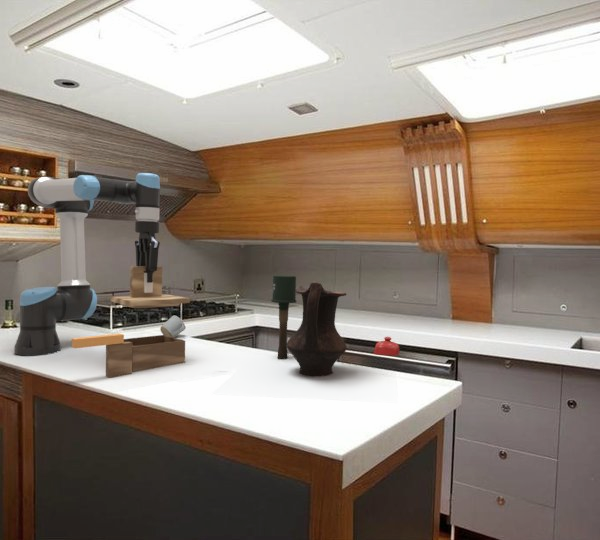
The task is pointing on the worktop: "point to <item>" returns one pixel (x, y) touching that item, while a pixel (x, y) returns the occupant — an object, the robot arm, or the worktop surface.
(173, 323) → the ceramic mug
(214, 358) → the worktop surface
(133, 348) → the open wooden box
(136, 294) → the lid
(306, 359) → the jug
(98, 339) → the orange rectangular block
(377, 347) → the butter dish
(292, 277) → the stick grenade
